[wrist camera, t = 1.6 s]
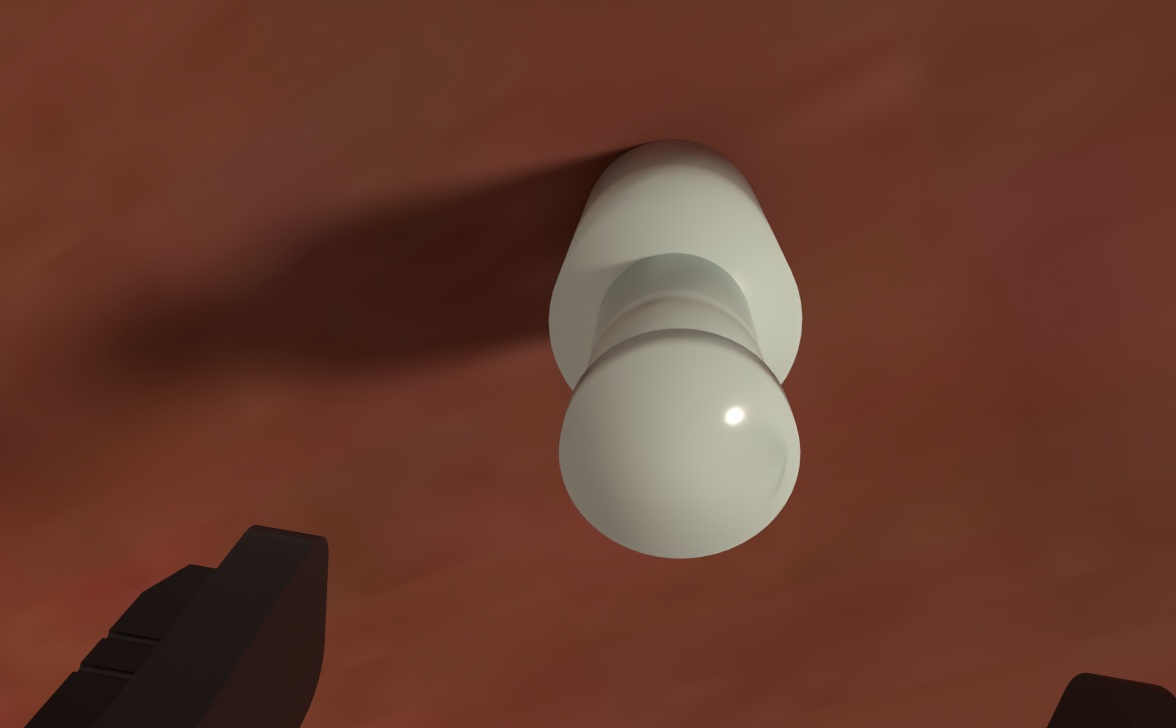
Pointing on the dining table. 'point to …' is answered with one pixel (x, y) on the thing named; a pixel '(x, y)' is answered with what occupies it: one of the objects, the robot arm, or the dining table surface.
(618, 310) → the bottle
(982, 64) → the dining table surface
